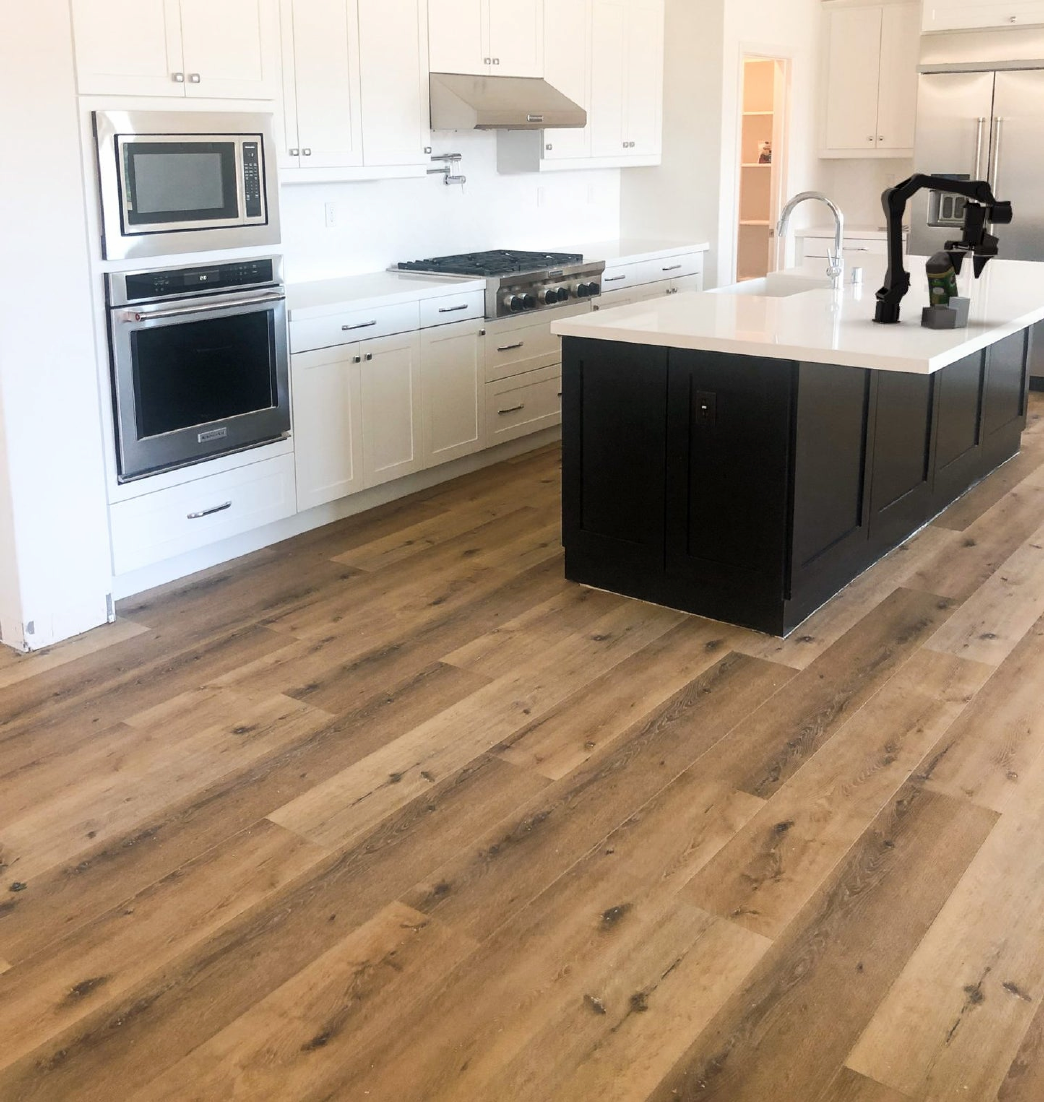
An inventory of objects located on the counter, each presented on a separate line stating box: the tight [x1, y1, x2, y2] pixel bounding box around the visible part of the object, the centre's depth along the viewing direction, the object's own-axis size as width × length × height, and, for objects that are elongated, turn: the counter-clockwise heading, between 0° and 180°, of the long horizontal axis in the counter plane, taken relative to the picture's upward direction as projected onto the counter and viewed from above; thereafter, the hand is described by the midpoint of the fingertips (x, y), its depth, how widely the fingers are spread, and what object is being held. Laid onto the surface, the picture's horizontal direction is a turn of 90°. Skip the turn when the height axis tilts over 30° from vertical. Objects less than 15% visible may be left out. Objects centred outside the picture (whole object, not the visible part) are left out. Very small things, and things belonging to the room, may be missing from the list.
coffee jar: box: [924, 251, 959, 307], centre depth 380 cm, size 10×8×19 cm
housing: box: [920, 306, 957, 330], centre depth 361 cm, size 7×7×6 cm
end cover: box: [948, 296, 971, 328], centre depth 362 cm, size 11×6×8 cm, turn 106°
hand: (966, 277), depth 368 cm, fingers open, 9 cm apart
